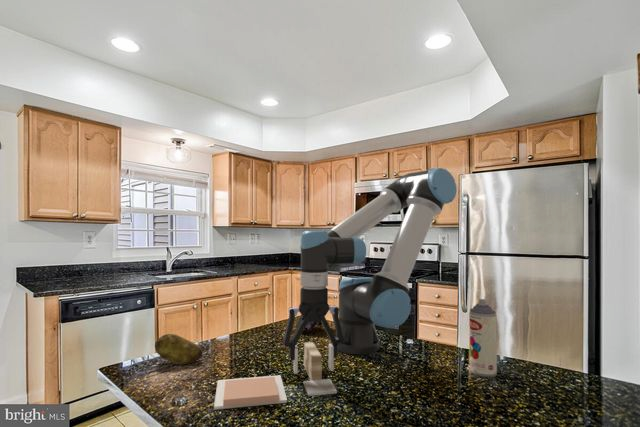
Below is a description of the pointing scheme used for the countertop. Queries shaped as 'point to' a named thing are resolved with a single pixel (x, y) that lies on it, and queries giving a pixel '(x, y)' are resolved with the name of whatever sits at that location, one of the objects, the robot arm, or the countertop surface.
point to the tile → (250, 391)
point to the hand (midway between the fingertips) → (313, 370)
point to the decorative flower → (310, 324)
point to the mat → (220, 397)
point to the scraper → (315, 372)
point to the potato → (177, 349)
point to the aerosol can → (483, 340)
